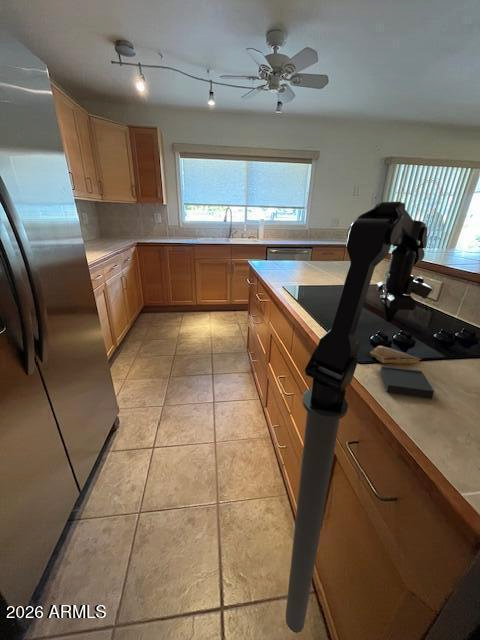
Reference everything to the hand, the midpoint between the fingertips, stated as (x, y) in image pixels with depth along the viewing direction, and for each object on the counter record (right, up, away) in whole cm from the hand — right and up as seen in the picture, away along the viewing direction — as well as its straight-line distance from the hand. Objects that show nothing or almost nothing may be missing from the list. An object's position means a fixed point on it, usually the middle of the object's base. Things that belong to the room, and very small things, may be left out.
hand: (388, 321), depth 79 cm
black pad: (-6, -15, -16) cm, 23 cm away
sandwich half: (-2, -10, -5) cm, 11 cm away
